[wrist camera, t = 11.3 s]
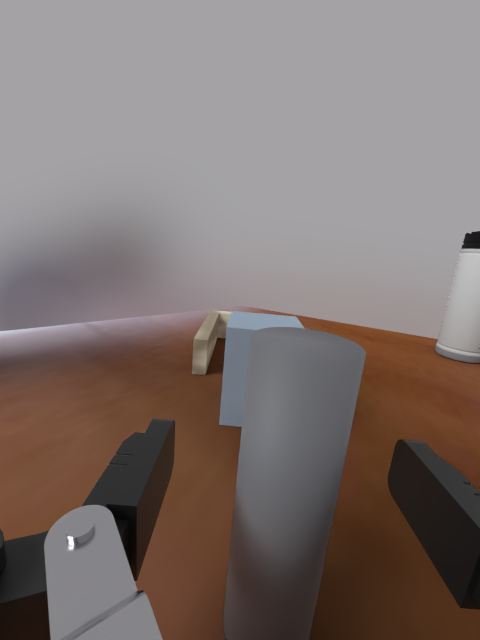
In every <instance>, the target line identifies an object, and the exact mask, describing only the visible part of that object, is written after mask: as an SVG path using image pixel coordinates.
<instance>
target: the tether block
mask: <svg viewBox="0 0 480 640" xmlns="http://www.w3.org/2000/svg"><path fill="white" fill-rule="evenodd" d="M365 357H366V351H365V350H364V349H363V348H362V347H361V346H360V345H358V344H357V343H355V342H353V341H351V340H349V339H346V338H343V337H341V336H338V335H334V334H331V333H327V332H322V331H317V330H312V329H305V328H304V327H303V326H302V324H301V323H300V321H299V320H298V319H297V317H294V316H283V315H271V314H260V313H249V312H238V311H231V315H230V318H229V321H228V324H227V329H226V342H225V355H224V368H223V381H222V394H221V407H220V420H219V425H226V426H237V427H242V430H241V440H240V450H239V460H238V470H237V480H236V491H235V501H234V511H233V521H232V531H231V541H230V552H229V562H228V572H227V582H226V592H225V603H224V613H223V627H224V634H225V638H226V640H309V638H310V633H311V628H312V623H313V618H314V613H315V608H316V603H317V598H318V593H319V588H320V583H321V578H322V573H323V568H324V563H325V558H326V552H327V547H328V542H329V537H330V532H331V527H332V522H333V517H334V512H335V507H336V502H337V497H338V492H339V487H340V482H341V477H342V472H343V467H344V462H345V457H346V452H347V447H348V442H349V437H350V432H351V427H352V422H353V417H354V412H355V407H356V402H357V397H358V392H359V387H360V382H361V377H362V372H363V367H364V362H365Z"/></svg>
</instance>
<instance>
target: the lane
mask: <svg viewBox="0 0 480 640" xmlns="http://www.w3.org/2000/svg"><path fill="white" fill-rule="evenodd" d="M230 315H231V312H226V311H215V310H210V312H209V314H208V315H207V317H206V319H205V320H204V322H203V324H202V326H201V327H200V329H199V331H198V332H197V334H196V336H195V337H194V341H193V361H192V374H199V375H206V372H207V369H208V366H209V363H210V360H211V356H212V353H213V350H214V347H215V344H216V341H217V338H226V329H227V324H228V321H229V318H230Z"/></svg>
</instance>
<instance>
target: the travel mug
mask: <svg viewBox="0 0 480 640" xmlns="http://www.w3.org/2000/svg"><path fill="white" fill-rule="evenodd" d="M463 243H464V245H462V249H461V251H460V252H461V254H460V255H459V259H458V263H457V267H456V271H455V274H454V278H453V282H452V286H451V290H450V294H449V298H448V302H447V306H446V309H445V313H444V317H443V321H442V325H441V329H440V333H439V337H438V342H437V344H436V348H435V351H436V353H438V354H439V355H441V356H443V357H446V358H449V359H452V360H456V361H460V362H465V363H480V231H478V232H472V234H469V233H466V235H465V239H464V242H463Z"/></svg>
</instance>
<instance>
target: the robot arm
mask: <svg viewBox="0 0 480 640" xmlns="http://www.w3.org/2000/svg"><path fill="white" fill-rule="evenodd" d="M174 443H175V421H174V420H163V419H153V420H152V421H151V423H150V425H149V427H148V429H147V431H146V432H145V433H137V432H135V433H134V434H133V435H131V436H130V437H129V438H127V439H126V440H125V441H123V443H122V444H121V446H120V448H119V449H118V451H117V452H116V455H114V457H113V458H112V460H111V462H110V464H109V466H107V468H106V469H105V471H104V473H103V474H102V476H101V477H100V479H99V480H98V482H97V483H96V485H95V487H94V488H93V490H92V491H91V493H90V494H89V496H88V498H87V499H86V501H85V502H84V504H83V505H82V507H79V508H76V509H74V510H72V511H70V512H68V513H67V514H65V515H64V516H63V517H61V518H60V519H59V520H58V521H57V522H56V523H55V524H54V525H53V526H52V527H51V529H50V530H49V531H46V532H43V533H40V534H36V535H31V536H26V537H22V538H17V539H12V540H8V541H4V536H3V532H2V531H1V529H0V640H163V639H162V637H161V634H160V631H159V628H158V625H157V622H156V619H155V616H154V613H153V611H152V608H151V605H150V602H149V600H148V597H147V595H146V594H145V592H144V591H143V590H142V591H140V592H139V591H138V589H137V587H136V584H135V581H137V578H138V575H139V572H140V569H141V566H142V563H143V560H144V557H145V554H146V551H147V548H148V545H149V542H150V539H151V536H152V533H153V530H154V526H155V523H156V520H157V517H158V514H159V511H160V508H161V505H162V502H163V499H164V496H165V493H166V490H167V487H168V484H169V481H170V477H171V474H172V469H173V463H174ZM388 485H389V490H390V493H391V495H392V497H393V499H394V500H395V502H396V503H397V505H398V507H399V508H400V510H401V512H402V513H403V515H404V517H405V518H406V520H407V521H408V523H409V525H410V526H411V528H412V530H413V531H414V533H415V535H416V536H417V538H418V539H419V541H420V543H421V544H422V546H423V548H424V549H425V551H426V553H427V554H428V556H429V557H430V559H431V561H432V562H433V564H434V566H435V567H436V569H437V571H438V572H439V574H440V575H441V577H442V579H443V580H444V582H445V584H446V585H447V587H448V589H449V590H450V592H451V594H452V595H453V597H454V598H455V600H456V602H457V603H458V605H459V607H460V608H467V609H480V492H479V491H478V490H477V489H476V488H475V487H474V486H473V485H471V484H470V482H469V481H468V480H467V479H466V478H465V477H464V476H463V475H462V474H461V473H460V472H459V471H458V470H457V469H456V468H454V467H453V466H451V465H450V464H449V463H447V462H446V461H444V460H443V459H441V458H439V457H438V456H437V455H436V454H435V453H434V452H433V451H432V450H431V449H430V448H429V446H428V445H427V444H426V443H424V442H422V441H412V440H398V441H397V443H396V445H395V449H394V454H393V458H392V462H391V466H390V470H389V474H388Z"/></svg>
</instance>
